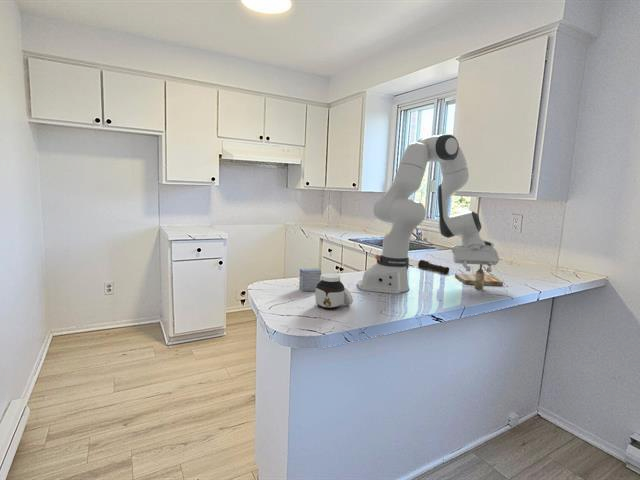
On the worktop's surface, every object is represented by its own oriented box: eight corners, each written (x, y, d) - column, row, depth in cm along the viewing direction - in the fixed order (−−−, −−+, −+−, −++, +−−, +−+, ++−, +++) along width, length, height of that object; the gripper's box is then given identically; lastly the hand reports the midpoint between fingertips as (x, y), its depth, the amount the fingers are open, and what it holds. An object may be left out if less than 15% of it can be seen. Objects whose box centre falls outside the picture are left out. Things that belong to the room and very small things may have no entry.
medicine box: (316, 287, 154) (317, 267, 153) (320, 290, 150) (321, 270, 149) (298, 288, 151) (299, 268, 150) (302, 292, 147) (303, 271, 146)
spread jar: (311, 306, 130) (313, 275, 129) (328, 299, 140) (330, 269, 138) (340, 314, 124) (342, 281, 122) (356, 305, 133) (358, 275, 131)
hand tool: (449, 274, 190) (450, 265, 189) (444, 275, 187) (445, 266, 187) (421, 266, 205) (422, 258, 205) (416, 267, 203) (417, 259, 202)
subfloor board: (464, 283, 171) (464, 279, 170) (454, 276, 184) (455, 273, 183) (502, 285, 170) (503, 281, 170) (490, 278, 183) (491, 274, 183)
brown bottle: (476, 289, 162) (478, 265, 161) (472, 286, 166) (475, 263, 164) (484, 289, 162) (486, 265, 161) (480, 287, 166) (483, 263, 164)
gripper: (452, 241, 170) (458, 266, 162) (496, 243, 170) (504, 268, 162) (448, 249, 175) (453, 273, 167) (491, 250, 175) (498, 275, 167)
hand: (478, 271), depth 165 cm, fingers open, 8 cm apart
